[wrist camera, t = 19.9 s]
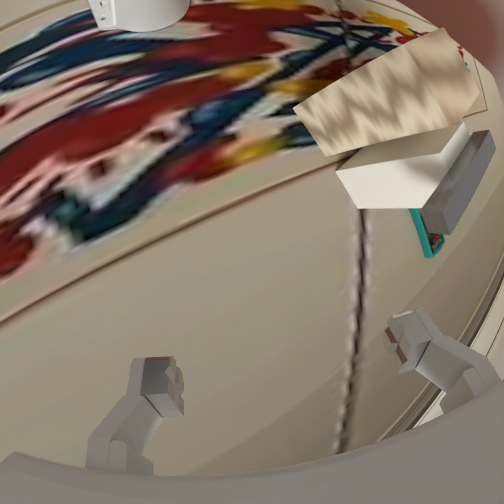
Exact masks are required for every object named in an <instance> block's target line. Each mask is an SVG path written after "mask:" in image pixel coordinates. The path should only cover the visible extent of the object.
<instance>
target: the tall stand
mask: <svg viewBox="0 0 504 504" xmlns="http://www.w3.org/2000/svg"><path fill="white" fill-rule="evenodd" d="M479 94H480V92H479V90H478V88H477V86H476V84H475V82H474V79H473V77H472V75H471V74H470V72H469V70H468V68H467V66H466V64H465V62H464V60H463V59H462V57H461V55H460V53H459V51H458V50H457V48H456V46H455V45H454V43H453V41H452V40H451V38H450V37H449V35H448V33H447V32H446V30H445V29H444V28H440V29H438V30H435V31H433V32H430V33H428V34H426V35H423V36H421V37H418V38H416V39H414V40H412V41H409V42H407V43H405V44H403V45H401V46H399V47H397V48H395V49H393V50H391V51H389V52H387V53H385V54H384V55H382V56H380V57H378V58H376V59H374V60H372V61H370V62H369V63H367V64H365V65H363V66H361V67H360V68H358V69H356V70H354V71H352V72H351V73H349V74H347V75H346V76H344V77H342V78H340V79H339V80H337V81H335V82H334V83H332V84H330V85H329V86H327V87H325V88H324V89H322V90H320V91H319V92H317V93H316V94H314V95H312V96H311V97H309V98H308V99H306V100H305V101H303V102H301V103H300V104H298V105H297V106H295V107H294V108H293V110H294V111H295V112H296V114H297V115H298V116H299V118H300V119H301V121H302V122H303V123H304V125H305V126H306V128H307V129H308V131H309V132H310V133H311V135H312V136H313V138H314V139H315V141H316V142H317V144H318V145H319V147H320V148H321V150H322V151H323V153H324V154H325V156H326V157H327V156H331V155H334V154H338V153H341V152H345V151H349V150H352V149H356V148H360V147H364V146H367V145H371V144H375V143H379V142H383V141H387V140H391V139H395V138H400V137H404V136H408V135H413V134H417V133H422V132H426V131H431V130H436V129H441V128H446V127H451V126H456V125H457V124H458V123H459V121H460V120H461V119H462V117H463V116H464V115H465V113H466V112H467V111H468V109H469V108H470V106H471V105H472V104H473V102H474V101H475V99H476V98H477V97H478V95H479Z"/></svg>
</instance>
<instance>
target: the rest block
mask: <svg viewBox="0 0 504 504" xmlns="http://www.w3.org/2000/svg"><path fill="white" fill-rule="evenodd" d="M469 138H470V136H469V134H468V131H467V129H466V127H465V124H464V122H459V123H458V124H457V125H456V126H451V127H446V128H441V129H436V130H431V131H426V132H422V133H417V134H413V135H408V136H404V137H400V138H395V139H391V140H387V141H383V142H379V143H375V144H371V145H367V146H364V147H363V148H362V149H360V150H359V151H358V152H357V153H356V154H355V155H354V156H352V157H351V158H350V159H349V160H348V161H347V162H345V163H344V164H343V165H342V166H341V167H340V168H339V169H337V170H336V173H337V175H338V176H339V178H340V180H341V181H342V183H343V184H344V186H345V188H346V189H347V191H348V193H349V194H350V196H351V198H352V199H353V201H354V203H355V205H356V206H357V208H422V207H423V205H424V204H425V203H426V201H427V200H428V199H429V197H430V196H431V195H432V193H433V192H434V190H435V189H436V188H437V186H438V185H439V183H440V182H441V181H442V179H443V178H444V176H445V175H446V173H447V172H448V170H449V169H450V168H451V166H452V165H453V163H454V162H455V160H456V159H457V157H458V156H459V154H460V153H461V151H462V149H463V148H464V146H465V145H466V143H467V142H468V140H469Z"/></svg>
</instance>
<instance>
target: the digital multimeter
mask: <svg viewBox="0 0 504 504" xmlns="http://www.w3.org/2000/svg"><path fill="white" fill-rule="evenodd" d="M420 209H421V208H409V211H410V213H411V216H412V218H413V221H414V223H415V226H416V229H417V232H418V235H419V238H420V242H421V245H422V248H423V252H424V256H425V257H426V258H432V257H434V256H435V255H436V254H437V253H438V252H439V251H440V249H441V248H442V246H443V244H444V242H445V238H444V235H443V234H435V233H429V232H428V229H427V227H426V224H425V222H424V219H423V217H422V215H421V212H420Z"/></svg>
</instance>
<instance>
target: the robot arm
mask: <svg viewBox="0 0 504 504" xmlns="http://www.w3.org/2000/svg"><path fill="white" fill-rule="evenodd" d="M87 1H88V3H89V6H90V8H91V11H92V13H93V16H94V18H95V21H96V23H97V25H98V28H99V29H100V30H113V29H123V30H128V31H134V32H147V31H154V30H159V29H162V28H165V27H168V26H170V25H172V24H174V23H175V22H177V21H178V20H180V19H181V18H182V17H183V16H184V15H185V14H186V12H187V10H188V8H189V5H190V0H87ZM103 19H105V20H103ZM387 324H388V326H389V327H388V328H387V329H386V330H385V331H384V335H383V343H384V346H385V349H386V351H387V353H389V354H390V355H392V356H393V358H392V363H393V365H394V367H395V369H396V371H397V373H398V374H400V373H403V372H406V371H409V370H412V369H415V368H416V370H417V371H418V372H420V373H421V374H422V375H423V376H425V377H426V378H427V379H429V380H430V381H431V382H433V383H434V384H435V385H437V386H438V387H439V388H441V389H442V390H443V391H445V392H446V393H447V394H446V395H445V396H444V398H443V399H442V400H441V402H440V406H441V408H442V410H443V413H444V414H443V415H441V416H439V417H437V418H435V419H433V420H431V421H429V422H426V423H424V424H422V425H420V426H417V427H415V428H413V429H410V430H408V431H406V432H403V433H401V434H398V435H396V436H393V437H390V438H388V439H385V440H382V441H379V442H376V443H374V444H371V445H368V446H365V447H362V448H358V449H355V450H352V451H348V452H345V453H342V454H338V455H334V456H330V457H327V458H323V459H318V460H314V461H310V462H305V463H300V464H295V465H290V466H285V467H279V468H273V469H266V470H259V471H252V472H243V473H233V474H220V475H201V476H159V475H154V472H153V462H152V461H151V460H149V459H148V458H146V457H145V456H143V455H142V452H143V450H144V449H145V447H146V445H147V444H148V442H149V440H150V439H151V437H152V436H153V434H154V432H155V431H156V429H157V427H158V426H159V424H160V422H161V421H162V419H163V417H179V416H184V401H183V399H182V397H181V396H180V395H181V394H182V393H183V391H184V382H183V376H182V373H181V370H180V368H178V367H176V361H175V359H174V357H173V356H168V357H151V358H134V359H133V361H132V363H131V369H130V375H129V382H128V389H127V396H122V398H121V399H120V400H119V401H118V403H117V404H116V405H115V406H114V407H113V409H112V410H111V411H110V412H109V413H108V415H107V416H106V417H105V418H104V419H103V421H102V422H101V423H100V424H99V425H98V427H97V428H96V429H95V430H94V431H93V433H92V434H91V435H90V436H89V441H88V448H87V455H86V464H85V468H83V467H78V466H73V465H68V464H63V463H59V462H54V461H50V460H46V459H42V458H39V457H35V456H32V455H28V454H25V453H22V452H13V453H11V454H10V455H9V456H8V457H7V458H5V459H4V460H3V461H2V462H1V464H0V504H504V380H502V381H501V379H500V377H499V376H498V374H497V372H496V371H495V369H494V367H493V366H492V364H491V362H490V361H489V359H488V358H487V357H485V356H483V355H482V354H480V353H478V352H476V351H474V350H473V349H471V348H469V347H467V346H465V345H463V344H462V343H460V342H458V341H456V340H454V339H452V338H451V337H449V336H447V335H444V336H443V335H442V333H441V332H440V330H439V329H438V327H437V326H436V324H435V323H434V321H433V320H432V318H431V317H430V316H429V314H428V313H427V311H426V310H425V309H424V308H418V309H415V310H412V311H408V312H404V313H401V314H398V315H394V316H391V317H390V318H389V319H388V322H387Z"/></svg>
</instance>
